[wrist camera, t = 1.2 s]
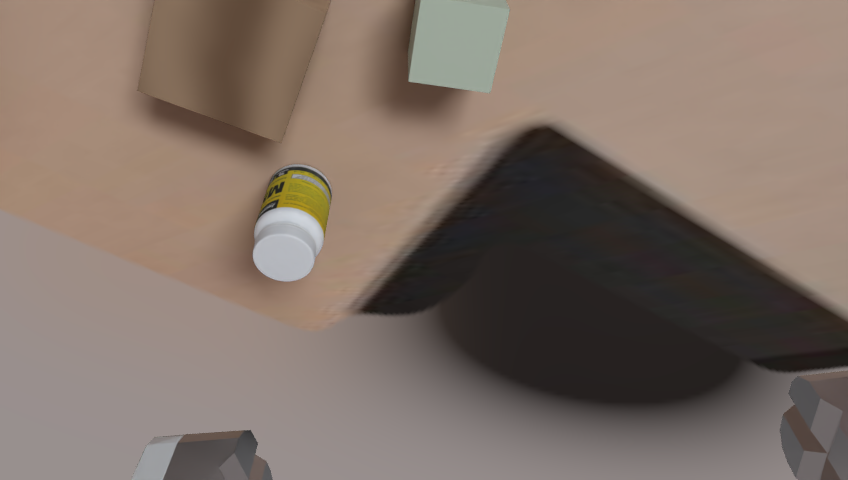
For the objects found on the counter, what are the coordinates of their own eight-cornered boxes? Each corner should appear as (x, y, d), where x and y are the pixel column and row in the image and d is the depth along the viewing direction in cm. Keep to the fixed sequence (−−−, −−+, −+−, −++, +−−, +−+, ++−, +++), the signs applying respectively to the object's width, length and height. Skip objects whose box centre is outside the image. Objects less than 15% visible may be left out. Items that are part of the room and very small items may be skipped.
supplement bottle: (282, 152, 45) (261, 217, 39) (342, 178, 47) (332, 245, 40) (260, 201, 48) (236, 271, 41) (317, 224, 49) (303, 296, 42)
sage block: (407, 52, 41) (408, 81, 37) (419, -28, 38) (421, -5, 34) (481, 62, 42) (490, 93, 38) (498, -15, 39) (509, 9, 35)
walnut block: (157, 66, 41) (137, 91, 38) (185, -71, 36) (165, -56, 33) (290, 116, 44) (281, 143, 40) (332, -7, 39) (326, 13, 36)
